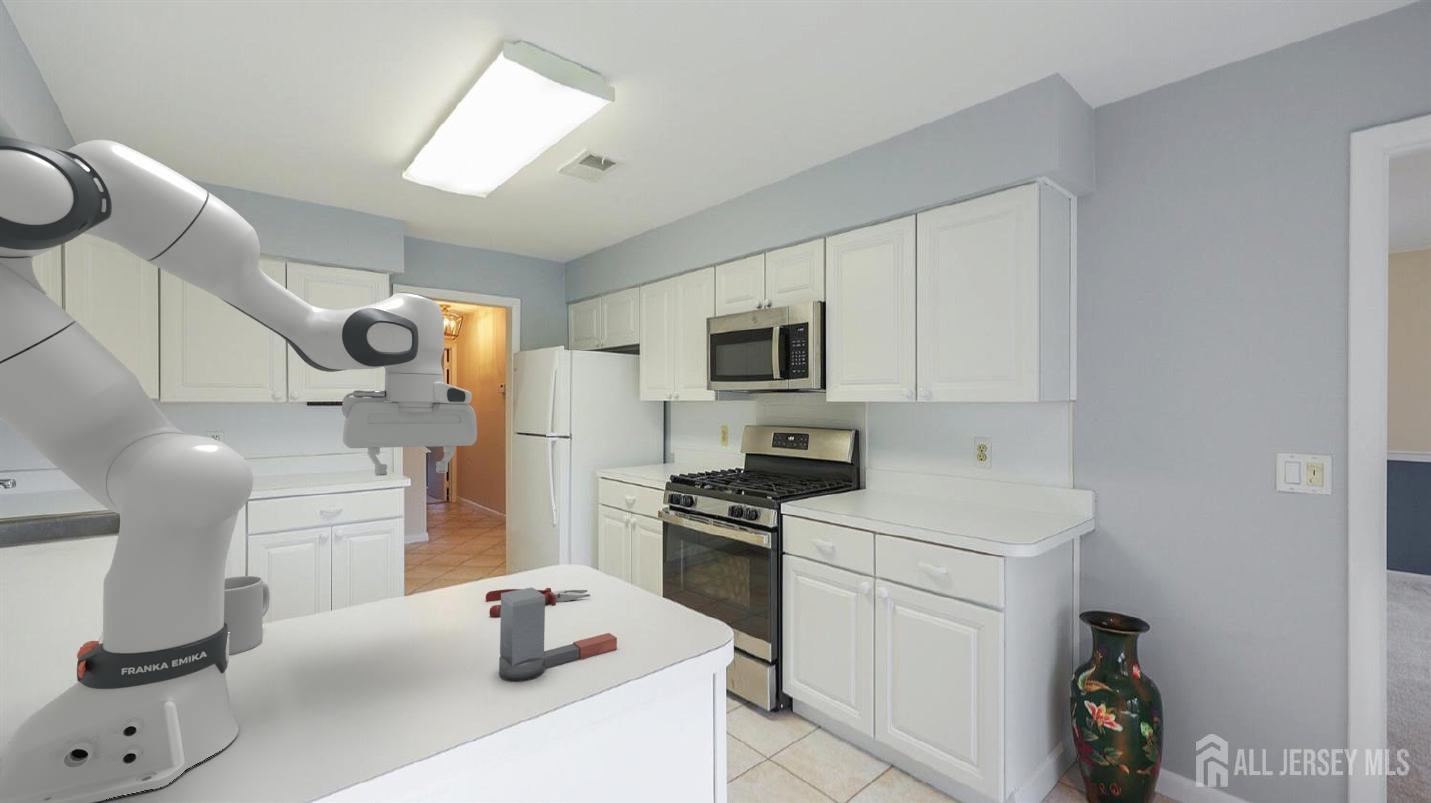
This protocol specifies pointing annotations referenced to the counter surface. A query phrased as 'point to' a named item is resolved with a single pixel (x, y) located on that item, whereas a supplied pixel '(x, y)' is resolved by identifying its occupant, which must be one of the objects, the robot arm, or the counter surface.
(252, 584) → the mug
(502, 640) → the grey square pillar
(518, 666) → the ratchet
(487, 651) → the counter surface
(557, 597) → the pliers
